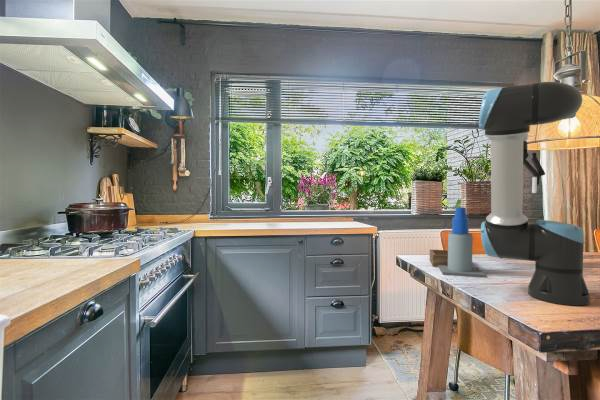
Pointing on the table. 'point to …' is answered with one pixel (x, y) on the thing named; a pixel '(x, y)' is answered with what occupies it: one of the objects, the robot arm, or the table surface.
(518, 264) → the table surface
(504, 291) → the table surface
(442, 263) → the walnut collar
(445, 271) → the rubber mat
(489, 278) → the table surface
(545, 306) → the table surface
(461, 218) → the spray bottle
